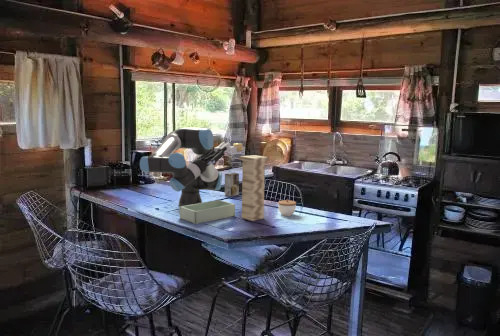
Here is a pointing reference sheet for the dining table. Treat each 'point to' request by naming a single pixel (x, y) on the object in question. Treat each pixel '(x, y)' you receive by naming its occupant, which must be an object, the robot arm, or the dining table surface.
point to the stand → (253, 186)
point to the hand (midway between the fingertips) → (227, 144)
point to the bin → (207, 211)
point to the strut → (231, 148)
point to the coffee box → (232, 184)
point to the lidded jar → (287, 207)
